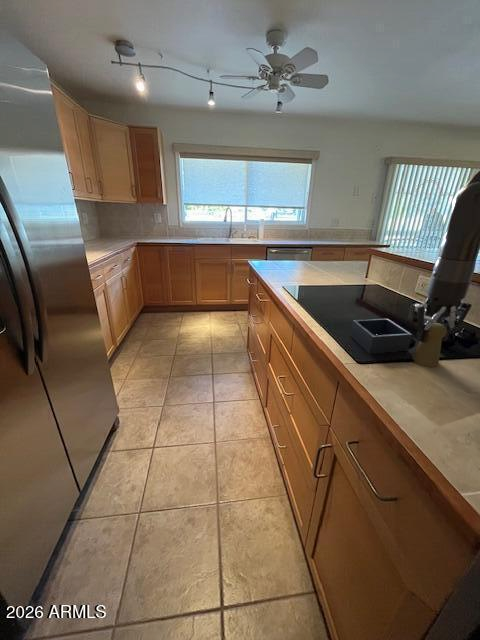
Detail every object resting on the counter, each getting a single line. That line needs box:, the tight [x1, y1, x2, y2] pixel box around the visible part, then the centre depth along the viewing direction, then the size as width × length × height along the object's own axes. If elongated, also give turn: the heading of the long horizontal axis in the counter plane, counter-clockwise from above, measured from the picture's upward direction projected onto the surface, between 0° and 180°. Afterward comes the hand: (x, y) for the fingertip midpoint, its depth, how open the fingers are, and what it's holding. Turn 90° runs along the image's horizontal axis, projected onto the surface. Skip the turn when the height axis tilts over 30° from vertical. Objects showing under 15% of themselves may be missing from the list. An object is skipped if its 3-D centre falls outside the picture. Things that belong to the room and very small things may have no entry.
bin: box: [349, 317, 413, 355], centre depth 79 cm, size 12×12×6 cm
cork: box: [411, 322, 447, 368], centre depth 69 cm, size 6×6×11 cm
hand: (431, 340), depth 68 cm, fingers closed on cork, 5 cm apart
